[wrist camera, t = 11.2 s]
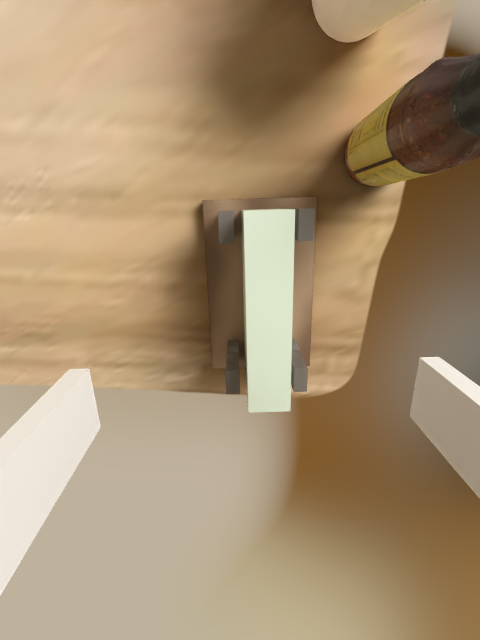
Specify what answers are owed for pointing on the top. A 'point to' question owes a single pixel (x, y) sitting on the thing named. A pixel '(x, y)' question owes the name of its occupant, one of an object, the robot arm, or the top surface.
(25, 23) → the top surface
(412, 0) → the cup
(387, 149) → the sauce bottle
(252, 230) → the door panel
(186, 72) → the top surface
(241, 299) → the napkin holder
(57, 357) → the top surface
